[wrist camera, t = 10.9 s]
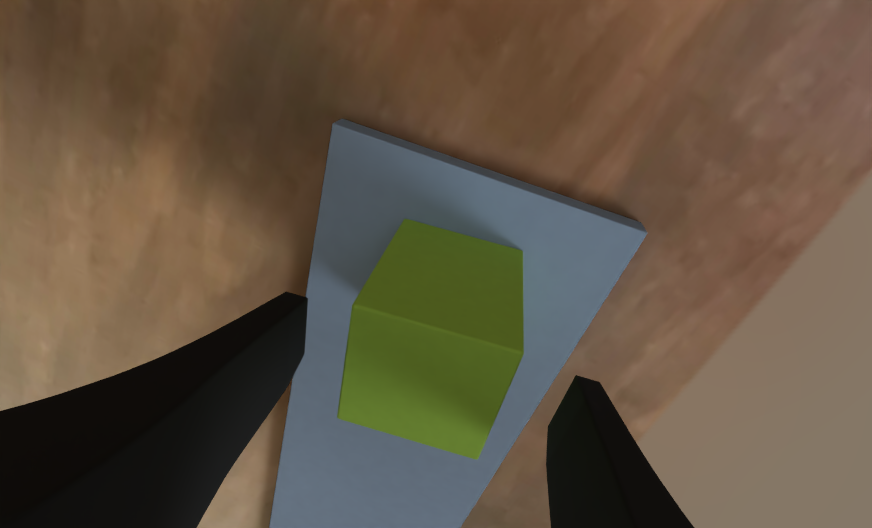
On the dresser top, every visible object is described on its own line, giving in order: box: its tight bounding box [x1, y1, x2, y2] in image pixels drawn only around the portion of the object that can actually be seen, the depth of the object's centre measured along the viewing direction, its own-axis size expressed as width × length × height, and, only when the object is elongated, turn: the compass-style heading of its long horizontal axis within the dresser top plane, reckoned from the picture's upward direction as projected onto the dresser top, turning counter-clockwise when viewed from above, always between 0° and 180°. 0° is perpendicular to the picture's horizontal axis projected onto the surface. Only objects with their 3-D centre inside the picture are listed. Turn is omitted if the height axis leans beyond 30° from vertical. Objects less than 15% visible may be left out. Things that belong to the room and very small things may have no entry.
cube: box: [337, 219, 524, 460], centre depth 13 cm, size 4×4×5 cm
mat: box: [269, 119, 647, 528], centre depth 22 cm, size 36×10×1 cm, turn 163°
